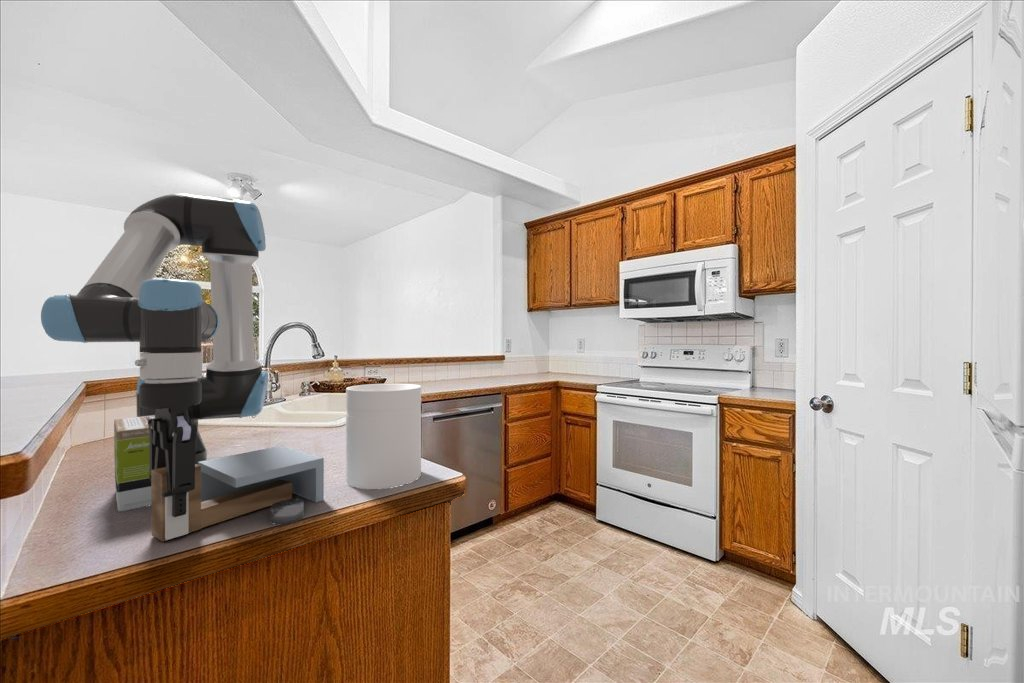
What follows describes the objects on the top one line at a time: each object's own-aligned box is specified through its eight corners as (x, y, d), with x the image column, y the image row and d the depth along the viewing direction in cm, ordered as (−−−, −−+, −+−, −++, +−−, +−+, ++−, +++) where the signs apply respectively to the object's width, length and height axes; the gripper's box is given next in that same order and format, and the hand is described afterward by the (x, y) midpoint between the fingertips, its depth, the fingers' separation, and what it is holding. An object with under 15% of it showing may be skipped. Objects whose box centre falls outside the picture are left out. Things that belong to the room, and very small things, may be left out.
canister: (436, 474, 97) (436, 386, 97) (379, 495, 83) (379, 393, 83) (388, 462, 105) (389, 382, 105) (330, 480, 92) (330, 388, 92)
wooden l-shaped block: (151, 535, 65) (151, 469, 65) (280, 494, 82) (280, 442, 82) (162, 541, 63) (162, 474, 63) (292, 498, 80) (292, 445, 80)
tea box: (113, 491, 85) (113, 417, 85) (176, 480, 92) (176, 412, 92) (115, 513, 74) (116, 429, 74) (187, 498, 81) (187, 421, 81)
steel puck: (264, 520, 72) (264, 505, 72) (294, 510, 76) (294, 496, 76) (279, 528, 69) (279, 512, 69) (309, 517, 73) (309, 503, 73)
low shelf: (198, 505, 78) (198, 461, 78) (281, 483, 90) (281, 445, 90) (235, 528, 68) (235, 478, 68) (323, 500, 81) (323, 457, 81)
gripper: (123, 379, 68) (123, 526, 68) (159, 385, 58) (158, 558, 58) (181, 376, 74) (180, 511, 74) (222, 381, 64) (222, 537, 64)
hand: (171, 531), depth 66 cm, fingers closed on wooden l-shaped block, 4 cm apart
